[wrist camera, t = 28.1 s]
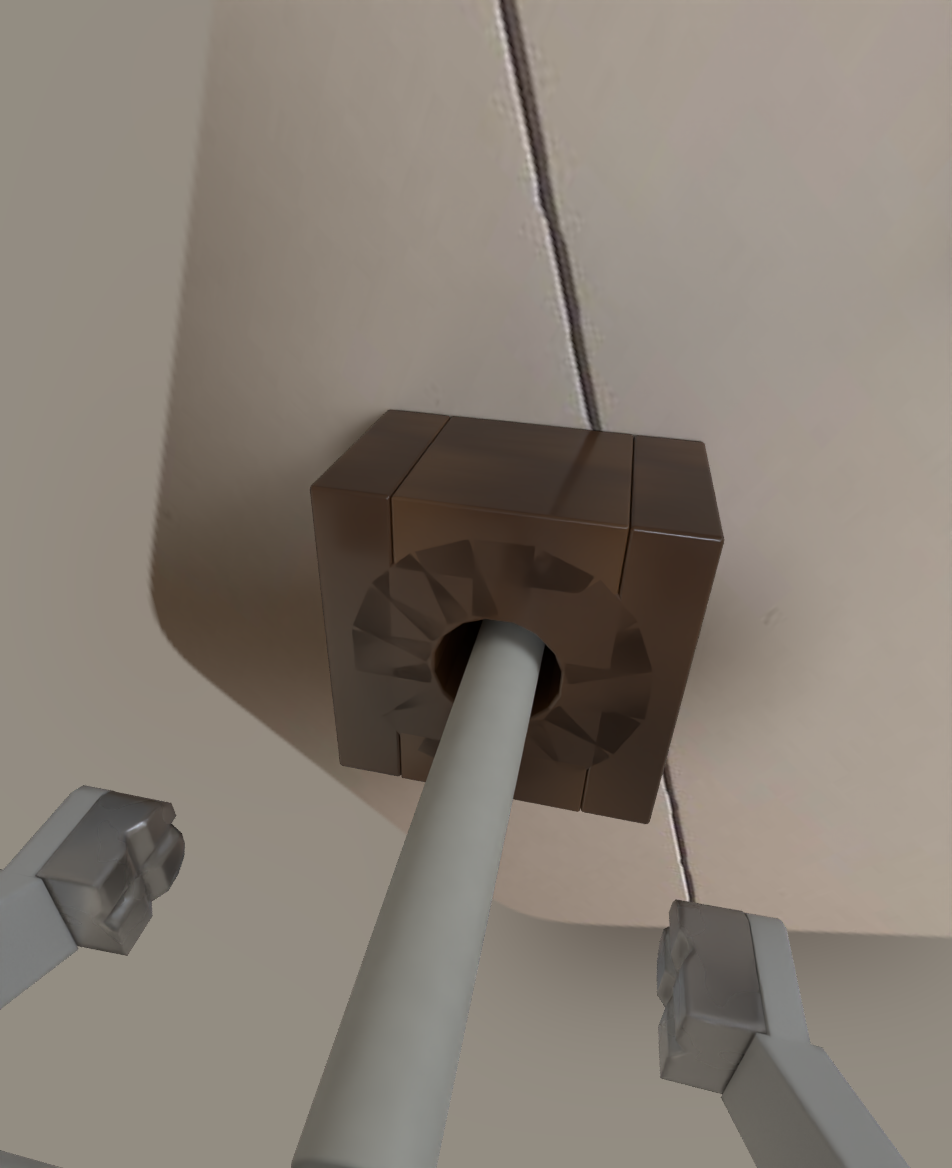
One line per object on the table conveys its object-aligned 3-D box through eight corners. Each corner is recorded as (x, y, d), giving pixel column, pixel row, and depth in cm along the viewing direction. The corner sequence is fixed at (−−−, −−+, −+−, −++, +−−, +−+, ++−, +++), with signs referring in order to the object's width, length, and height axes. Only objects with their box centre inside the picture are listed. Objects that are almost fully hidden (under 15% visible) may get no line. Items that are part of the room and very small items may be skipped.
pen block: (397, 651, 22) (338, 766, 18) (387, 408, 17) (307, 486, 13) (648, 691, 21) (649, 826, 16) (705, 441, 16) (726, 538, 12)
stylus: (503, 584, 20) (297, 1198, 8) (506, 535, 19) (280, 1146, 7) (557, 592, 19) (426, 1238, 8) (563, 543, 18) (426, 1190, 7)
